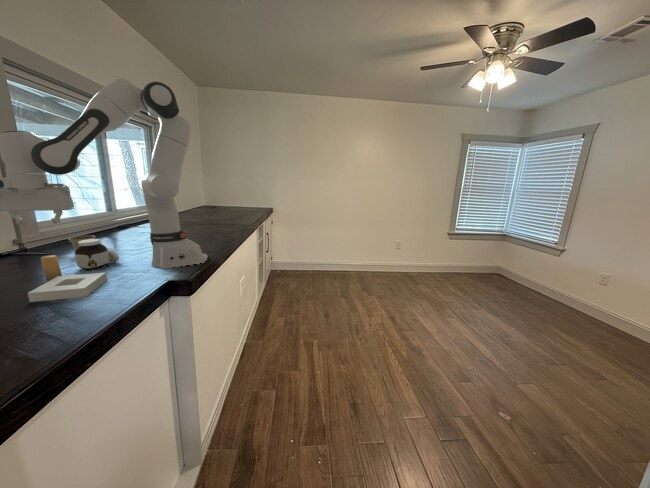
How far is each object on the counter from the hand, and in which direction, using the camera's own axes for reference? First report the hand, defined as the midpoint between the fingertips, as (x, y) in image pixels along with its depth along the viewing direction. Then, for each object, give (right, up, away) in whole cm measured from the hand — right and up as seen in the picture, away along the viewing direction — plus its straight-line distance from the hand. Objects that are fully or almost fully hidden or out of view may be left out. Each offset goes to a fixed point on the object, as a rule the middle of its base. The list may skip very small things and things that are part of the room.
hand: (39, 223), depth 89 cm
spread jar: (+3, -17, +21) cm, 27 cm away
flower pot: (-16, -13, +35) cm, 40 cm away
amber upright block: (0, -20, +5) cm, 21 cm away
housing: (+14, -23, -2) cm, 27 cm away
